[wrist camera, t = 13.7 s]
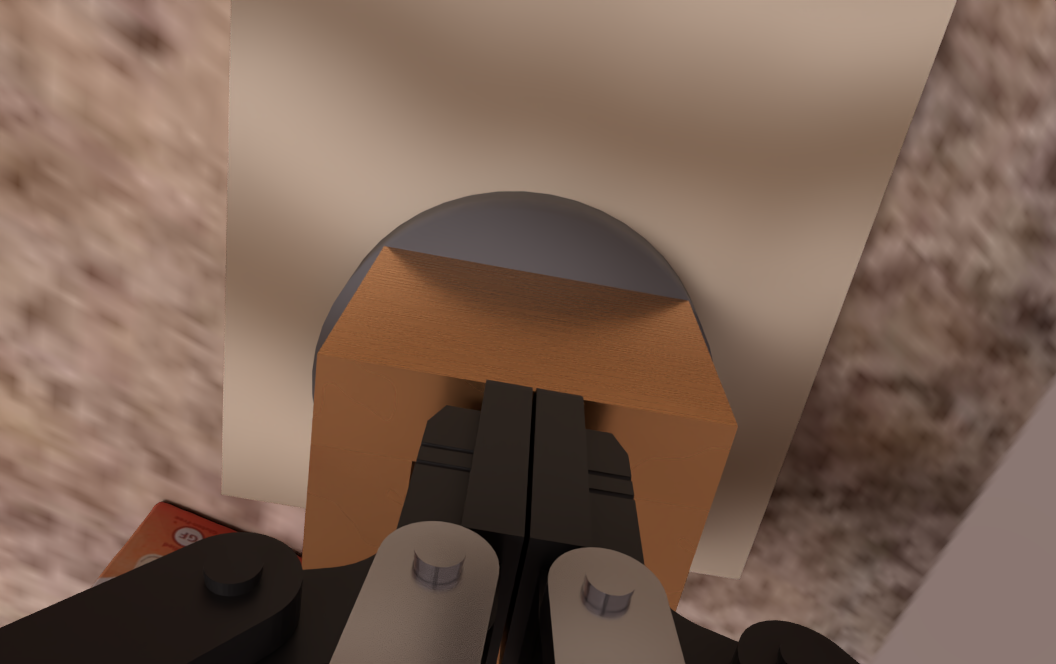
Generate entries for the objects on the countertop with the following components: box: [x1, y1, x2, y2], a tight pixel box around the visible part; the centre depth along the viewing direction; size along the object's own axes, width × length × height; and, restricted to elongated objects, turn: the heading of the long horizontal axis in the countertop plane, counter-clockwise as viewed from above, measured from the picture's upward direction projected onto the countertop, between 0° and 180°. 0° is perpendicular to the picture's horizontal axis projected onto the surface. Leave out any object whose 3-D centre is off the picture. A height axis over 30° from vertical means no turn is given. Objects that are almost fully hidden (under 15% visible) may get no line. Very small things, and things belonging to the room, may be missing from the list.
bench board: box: [221, 0, 957, 580], centre depth 14 cm, size 24×14×7 cm, turn 170°
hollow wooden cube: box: [302, 246, 738, 664], centre depth 16 cm, size 6×6×5 cm
